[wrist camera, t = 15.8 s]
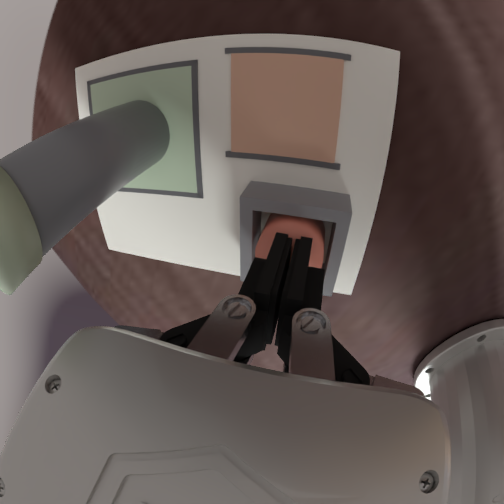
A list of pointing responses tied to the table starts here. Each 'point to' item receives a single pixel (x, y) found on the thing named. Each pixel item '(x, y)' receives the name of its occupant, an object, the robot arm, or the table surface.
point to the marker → (71, 180)
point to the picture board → (251, 146)
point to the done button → (293, 235)
